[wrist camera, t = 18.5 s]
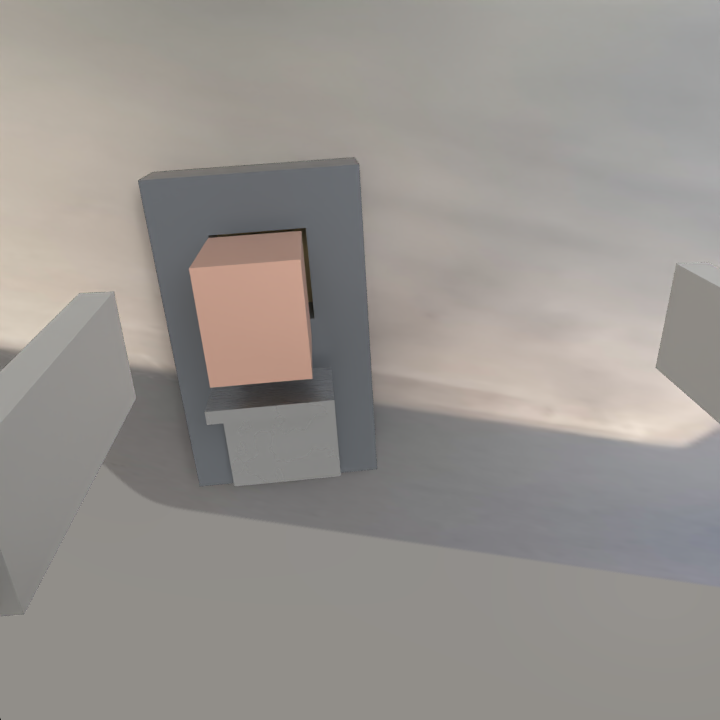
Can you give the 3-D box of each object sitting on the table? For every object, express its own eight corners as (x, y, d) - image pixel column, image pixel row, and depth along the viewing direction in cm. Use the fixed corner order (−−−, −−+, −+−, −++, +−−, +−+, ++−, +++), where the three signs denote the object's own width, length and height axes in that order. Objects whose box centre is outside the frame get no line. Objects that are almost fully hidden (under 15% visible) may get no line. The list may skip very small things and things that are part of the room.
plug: (219, 219, 38) (189, 268, 28) (301, 213, 38) (300, 259, 28) (233, 312, 40) (210, 387, 30) (310, 305, 40) (312, 378, 30)
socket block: (152, 171, 37) (138, 180, 33) (354, 157, 37) (359, 164, 34) (207, 457, 45) (199, 486, 42) (371, 442, 45) (377, 469, 42)
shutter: (216, 371, 38) (204, 412, 33) (330, 361, 38) (334, 400, 34) (235, 479, 41) (226, 530, 37) (340, 469, 42) (344, 518, 37)
